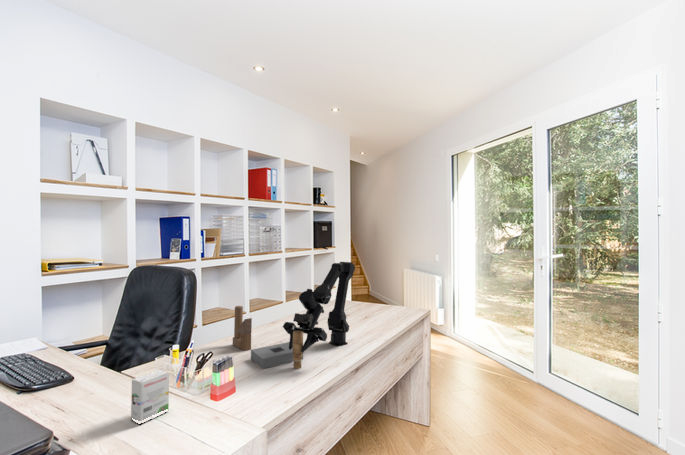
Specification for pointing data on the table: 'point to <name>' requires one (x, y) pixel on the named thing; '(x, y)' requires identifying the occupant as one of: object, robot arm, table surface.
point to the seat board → (272, 355)
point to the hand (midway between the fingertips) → (295, 350)
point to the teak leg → (297, 348)
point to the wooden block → (242, 330)
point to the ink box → (149, 395)
